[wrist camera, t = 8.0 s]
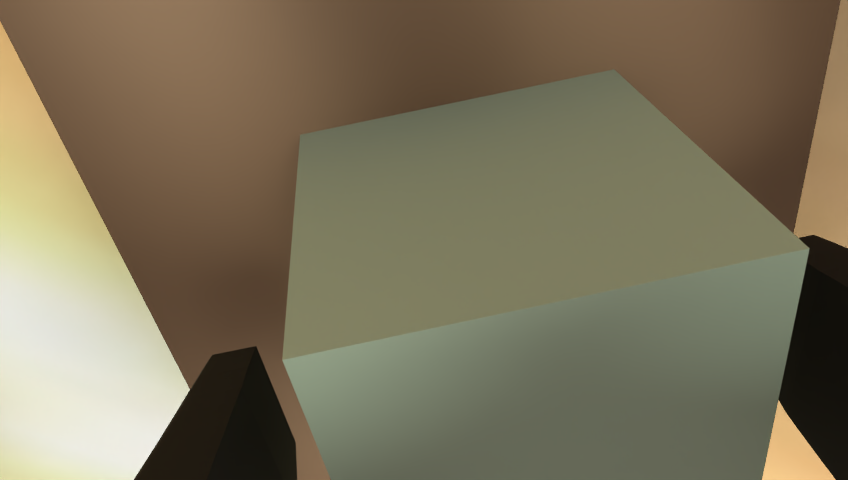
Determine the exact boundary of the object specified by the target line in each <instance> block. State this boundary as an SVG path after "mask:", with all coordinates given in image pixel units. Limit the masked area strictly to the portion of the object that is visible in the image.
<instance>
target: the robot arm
mask: <svg viewBox="0 0 848 480" xmlns="http://www.w3.org/2000/svg"><path fill="white" fill-rule="evenodd" d="M799 239H800V240H801V241H802V242H803V243H804V244H805V245H806V246H807V247H809V248H810V249H809V254H808V259H807V263H806V268H805V273H804V278H803V283H802V288H801V292H800V297H799V302H798V307H797V312H796V317H795V321H794V326H793V331H792V336H791V341H790V346H789V350H788V355H787V360H786V365H785V370H784V375H783V379H782V384H781V389H780V394H779V401H780V403H781V405H782V406H783V408H784V410H785V411H786V413H787V414H788V416H789V417H790V419H791V420H792V421H793V423H794V424H795V426H796V427H797V428H798V430H799V431H800V432H801V434H802V435H803V436H804V438H805V439H806V440H807V442H808V443H809V444H810V446H811V447H812V448H813V450H814V451H815V452H816V454H817V455H818V457H819V458H820V459H821V461H822V462H823V463H824V465H825V466H826V467H827V469H828V470H829V471H830V472H831V474H832V475H833V476H834V478H835V479H836V480H848V248H845V247H843V246H840V245H838V244H836V243H833V242H831V241H828V240H826V239H823V238H820V237H818V236H815V235H811V236H806V237H801V238H799ZM134 480H297V461H296V442H295V439H294V437H293V434H292V432H291V430H290V427H289V425H288V422H287V420H286V417H285V415H284V413H283V410H282V408H281V405H280V403H279V400H278V398H277V395H276V393H275V391H274V388H273V386H272V383H271V381H270V378H269V376H268V374H267V371H266V369H265V366H264V364H263V361H262V359H261V357H260V354H259V352H258V349H257V347H256V346H254V347H249V348H244V349H239V350H234V351H229V352H224V353H219V354H214V355H212V356H211V357H210V359H209V360H208V362H207V363H206V365H205V366H204V368H203V370H202V371H201V373H200V374H199V376H198V378H197V379H196V381H195V382H194V384H193V386H192V387H191V389H190V391H189V392H188V394H187V396H186V397H185V399H184V401H183V402H182V404H181V406H180V407H179V409H178V411H177V412H176V414H175V415H174V417H173V419H172V420H171V422H170V424H169V425H168V427H167V428H166V430H165V432H164V433H163V435H162V437H161V438H160V440H159V441H158V443H157V445H156V446H155V448H154V449H153V451H152V452H151V454H150V455H149V457H148V459H147V460H146V462H145V463H144V465H143V466H142V468H141V469H140V471H139V473H138V474H137V476H136V477H135V479H134Z"/></svg>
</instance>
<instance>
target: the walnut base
mask: <svg viewBox="0 0 848 480" xmlns="http://www.w3.org/2000/svg"><path fill="white" fill-rule="evenodd" d="M839 5H840V0H0V21H1V23H2V25H3V27H4V29H5V31H6V33H7V35H8V37H9V39H10V41H11V43H12V45H13V46H14V48H15V50H16V52H17V54H18V56H19V58H20V60H21V62H22V64H23V66H24V68H25V70H26V72H27V74H28V76H29V78H30V79H31V81H32V83H33V85H34V87H35V89H36V91H37V93H38V95H39V97H40V99H41V101H42V103H43V105H44V107H45V109H46V111H47V112H48V114H49V116H50V118H51V120H52V122H53V124H54V126H55V128H56V130H57V132H58V134H59V136H60V138H61V140H62V142H63V144H64V145H65V147H66V149H67V151H68V153H69V155H70V157H71V159H72V161H73V163H74V165H75V167H76V169H77V171H78V173H79V175H80V177H81V178H82V180H83V182H84V184H85V186H86V188H87V190H88V192H89V194H90V196H91V198H92V200H93V202H94V204H95V206H96V208H97V210H98V212H99V213H100V215H101V217H102V219H103V221H104V223H105V225H106V227H107V229H108V231H109V233H110V235H111V237H112V239H113V241H114V243H115V245H116V246H117V248H118V250H119V252H120V254H121V256H122V258H123V260H124V262H125V264H126V266H127V268H128V270H129V272H130V274H131V276H132V278H133V279H134V281H135V283H136V285H137V287H138V289H139V291H140V293H141V295H142V297H143V299H144V301H145V303H146V305H147V307H148V309H149V311H150V312H151V314H152V316H153V318H154V320H155V322H156V324H157V326H158V328H159V330H160V332H161V334H162V336H163V338H164V340H165V342H166V344H167V345H168V347H169V349H170V351H171V353H172V355H173V357H174V359H175V361H176V363H177V365H178V367H179V369H180V371H181V373H182V375H183V377H184V378H185V380H186V382H187V384H188V386H189V388H190V389H191V387H192V386H193V384H194V382H195V381H196V379H197V378H198V376H199V374H200V373H201V371H202V370H203V368H204V366H205V365H206V363H207V362H208V360H209V359H210V357H211V356H212V355H214V354H219V353H224V352H229V351H234V350H239V349H244V348H249V347H254V346H256V347H257V349H258V352H259V354H260V357H261V359H262V361H263V364H264V366H265V369H266V371H267V374H268V376H269V378H270V381H271V383H272V386H273V388H274V391H275V393H276V395H277V398H278V400H279V403H280V405H281V408H282V410H283V413H284V415H285V417H286V420H287V422H288V425H289V427H290V430H291V432H292V434H293V437H294V439H295V442H296V461H297V480H331V479H330V477H329V474H328V472H327V469H326V467H325V464H324V462H323V459H322V457H321V454H320V452H319V449H318V447H317V445H316V442H315V440H314V437H313V435H312V432H311V430H310V427H309V425H308V422H307V420H306V417H305V415H304V412H303V410H302V408H301V405H300V403H299V400H298V398H297V395H296V393H295V390H294V388H293V385H292V383H291V380H290V378H289V376H288V373H287V371H286V368H285V366H284V363H283V361H282V357H283V344H284V332H285V319H286V306H287V294H288V281H289V269H290V256H291V244H292V231H293V219H294V206H295V193H296V181H297V168H298V156H299V143H300V135H302V134H306V133H311V132H316V131H321V130H326V129H330V128H335V127H340V126H345V125H350V124H354V123H359V122H364V121H369V120H374V119H378V118H383V117H388V116H393V115H397V114H402V113H407V112H412V111H417V110H421V109H426V108H431V107H436V106H441V105H445V104H450V103H455V102H460V101H465V100H469V99H474V98H479V97H484V96H489V95H493V94H498V93H503V92H508V91H513V90H517V89H522V88H527V87H532V86H537V85H541V84H546V83H551V82H556V81H561V80H565V79H570V78H575V77H580V76H585V75H589V74H594V73H599V72H604V71H609V70H613V69H614V70H615V71H616V72H618V73H619V74H620V75H621V76H622V77H623V78H624V79H625V80H626V81H627V82H628V83H630V84H631V85H632V86H633V87H634V88H635V89H636V90H637V91H638V92H639V93H640V94H642V95H643V96H644V97H645V98H646V99H647V100H648V101H649V102H650V103H651V104H652V105H654V106H655V107H656V108H657V109H658V110H659V111H660V112H661V113H662V114H663V115H664V116H666V117H667V118H668V119H669V120H670V121H671V122H672V123H673V124H674V125H675V126H676V127H678V128H679V129H680V130H681V131H682V132H683V133H684V134H685V135H686V136H687V137H688V138H690V139H691V140H692V141H693V142H694V143H695V144H696V145H697V146H698V147H699V148H700V149H702V150H703V151H704V152H705V153H706V154H707V155H708V156H709V157H710V158H711V159H713V160H714V161H715V162H716V163H717V164H718V165H719V166H720V167H721V168H722V169H723V170H725V171H726V172H727V173H728V174H729V175H730V176H731V177H732V178H733V179H734V180H735V181H737V182H738V183H739V184H740V185H741V186H742V187H743V188H744V189H745V190H746V191H747V192H749V193H750V194H751V195H752V196H753V197H754V198H755V199H756V200H757V201H758V202H759V203H761V204H762V205H763V206H764V207H765V208H766V209H767V210H768V211H769V212H770V213H771V214H773V215H774V216H775V217H776V218H777V219H778V220H779V221H780V222H781V223H782V224H783V225H785V226H786V227H787V228H788V229H789V230H790V231H791V232H792V233H794V228H795V223H796V218H797V213H798V208H799V203H800V198H801V193H802V188H803V183H804V178H805V173H806V168H807V163H808V158H809V153H810V148H811V143H812V139H813V134H814V129H815V124H816V119H817V114H818V109H819V104H820V99H821V94H822V89H823V84H824V79H825V74H826V69H827V64H828V59H829V54H830V49H831V44H832V39H833V34H834V30H835V25H836V20H837V15H838V10H839Z"/></svg>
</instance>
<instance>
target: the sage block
mask: <svg viewBox="0 0 848 480" xmlns="http://www.w3.org/2000/svg"><path fill="white" fill-rule="evenodd" d="M809 249H810V248H809V247H807V246H806V245H805V244H804V243H803V242H802V241H801V240H800V239H799V238H798V237H797V236H795V235H794V234H793V233H792V232H791V231H790V230H789V229H788V228H787V227H786V226H785V225H783V224H782V223H781V222H780V221H779V220H778V219H777V218H776V217H775V216H774V215H773V214H771V213H770V212H769V211H768V210H767V209H766V208H765V207H764V206H763V205H762V204H761V203H759V202H758V201H757V200H756V199H755V198H754V197H753V196H752V195H751V194H750V193H749V192H747V191H746V190H745V189H744V188H743V187H742V186H741V185H740V184H739V183H738V182H737V181H735V180H734V179H733V178H732V177H731V176H730V175H729V174H728V173H727V172H726V171H725V170H723V169H722V168H721V167H720V166H719V165H718V164H717V163H716V162H715V161H714V160H713V159H711V158H710V157H709V156H708V155H707V154H706V153H705V152H704V151H703V150H702V149H700V148H699V147H698V146H697V145H696V144H695V143H694V142H693V141H692V140H691V139H690V138H688V137H687V136H686V135H685V134H684V133H683V132H682V131H681V130H680V129H679V128H678V127H676V126H675V125H674V124H673V123H672V122H671V121H670V120H669V119H668V118H667V117H666V116H664V115H663V114H662V113H661V112H660V111H659V110H658V109H657V108H656V107H655V106H654V105H652V104H651V103H650V102H649V101H648V100H647V99H646V98H645V97H644V96H643V95H642V94H640V93H639V92H638V91H637V90H636V89H635V88H634V87H633V86H632V85H631V84H630V83H628V82H627V81H626V80H625V79H624V78H623V77H622V76H621V75H620V74H619V73H618V72H616V71H615V70H614V69H613V70H609V71H604V72H599V73H594V74H589V75H585V76H580V77H575V78H570V79H565V80H561V81H556V82H551V83H546V84H541V85H537V86H532V87H527V88H522V89H517V90H513V91H508V92H503V93H498V94H493V95H489V96H484V97H479V98H474V99H469V100H465V101H460V102H455V103H450V104H445V105H441V106H436V107H431V108H426V109H421V110H417V111H412V112H407V113H402V114H397V115H393V116H388V117H383V118H378V119H374V120H369V121H364V122H359V123H354V124H350V125H345V126H340V127H335V128H330V129H326V130H321V131H316V132H311V133H306V134H302V135H300V143H299V156H298V168H297V181H296V193H295V206H294V219H293V231H292V244H291V256H290V269H289V281H288V294H287V306H286V319H285V332H284V344H283V357H282V361H283V363H284V366H285V368H286V371H287V373H288V376H289V378H290V380H291V383H292V385H293V388H294V390H295V393H296V395H297V398H298V400H299V403H300V405H301V408H302V410H303V412H304V415H305V417H306V420H307V422H308V425H309V427H310V430H311V432H312V435H313V437H314V440H315V442H316V445H317V447H318V449H319V452H320V454H321V457H322V459H323V462H324V464H325V467H326V469H327V472H328V474H329V477H330V479H331V480H762V476H763V471H764V466H765V462H766V457H767V452H768V447H769V442H770V437H771V433H772V428H773V423H774V418H775V413H776V408H777V404H778V399H779V394H780V389H781V384H782V379H783V375H784V370H785V365H786V360H787V355H788V350H789V346H790V341H791V336H792V331H793V326H794V321H795V317H796V312H797V307H798V302H799V297H800V292H801V288H802V283H803V278H804V273H805V268H806V263H807V259H808V254H809Z"/></svg>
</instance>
